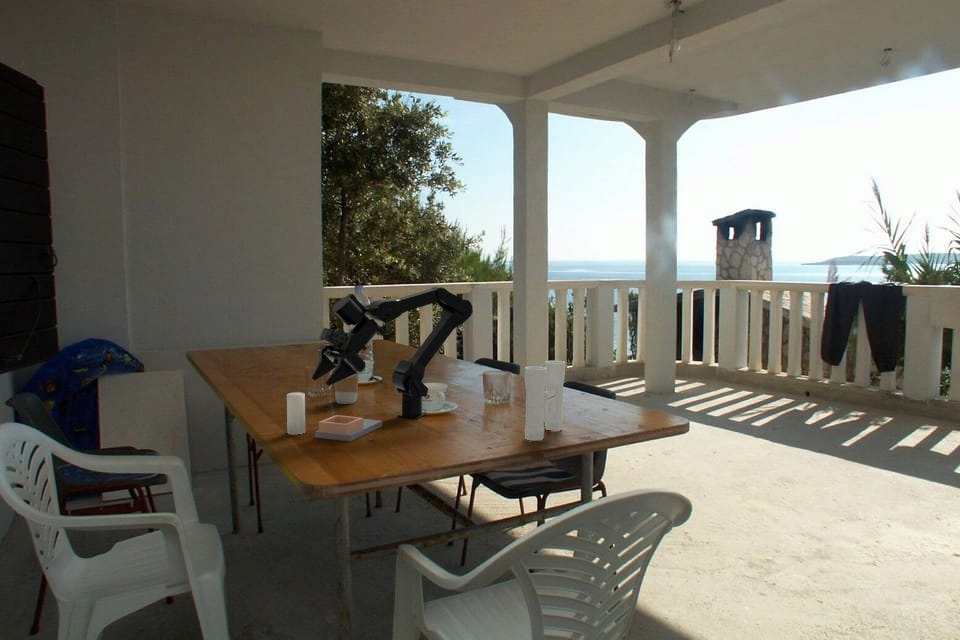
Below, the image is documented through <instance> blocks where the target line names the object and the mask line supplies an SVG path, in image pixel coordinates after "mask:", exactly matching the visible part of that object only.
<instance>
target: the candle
mask: <svg viewBox="0 0 960 640" xmlns="http://www.w3.org/2000/svg"><path fill="white" fill-rule="evenodd" d="M286 417H287V418H286V422H287V424H286V425H287V427H286V430H287V432H286V433H288V434H287V435H289V434H290V435H291V436H298V434H300V435H303V433H304V434H305V433H306V393H304V392H297V391H296V392H290V393H287V394H286Z"/></svg>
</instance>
